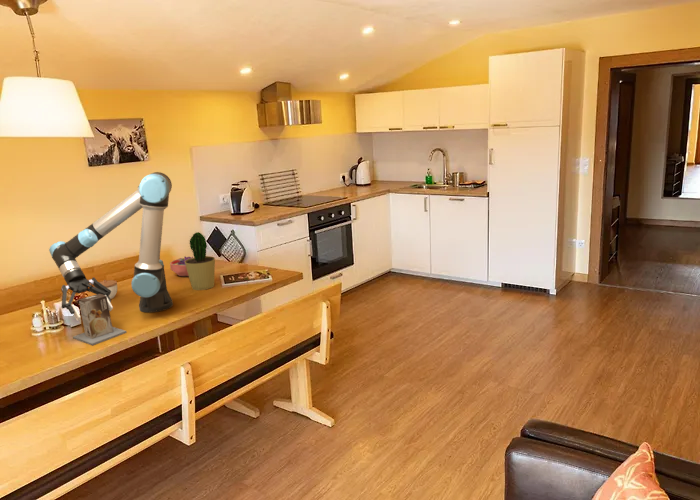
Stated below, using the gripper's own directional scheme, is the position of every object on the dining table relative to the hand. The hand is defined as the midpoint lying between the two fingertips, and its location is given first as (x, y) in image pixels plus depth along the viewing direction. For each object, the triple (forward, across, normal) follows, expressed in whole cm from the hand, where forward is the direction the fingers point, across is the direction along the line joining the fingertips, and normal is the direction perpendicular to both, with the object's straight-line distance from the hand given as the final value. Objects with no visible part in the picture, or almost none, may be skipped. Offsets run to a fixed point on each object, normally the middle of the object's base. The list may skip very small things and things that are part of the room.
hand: (95, 314), depth 225 cm
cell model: (-26, -76, -40) cm, 90 cm away
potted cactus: (-7, -66, -20) cm, 70 cm away
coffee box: (+6, 0, -6) cm, 9 cm away
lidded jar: (-27, -29, -41) cm, 57 cm away
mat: (+7, 0, -7) cm, 10 cm away
